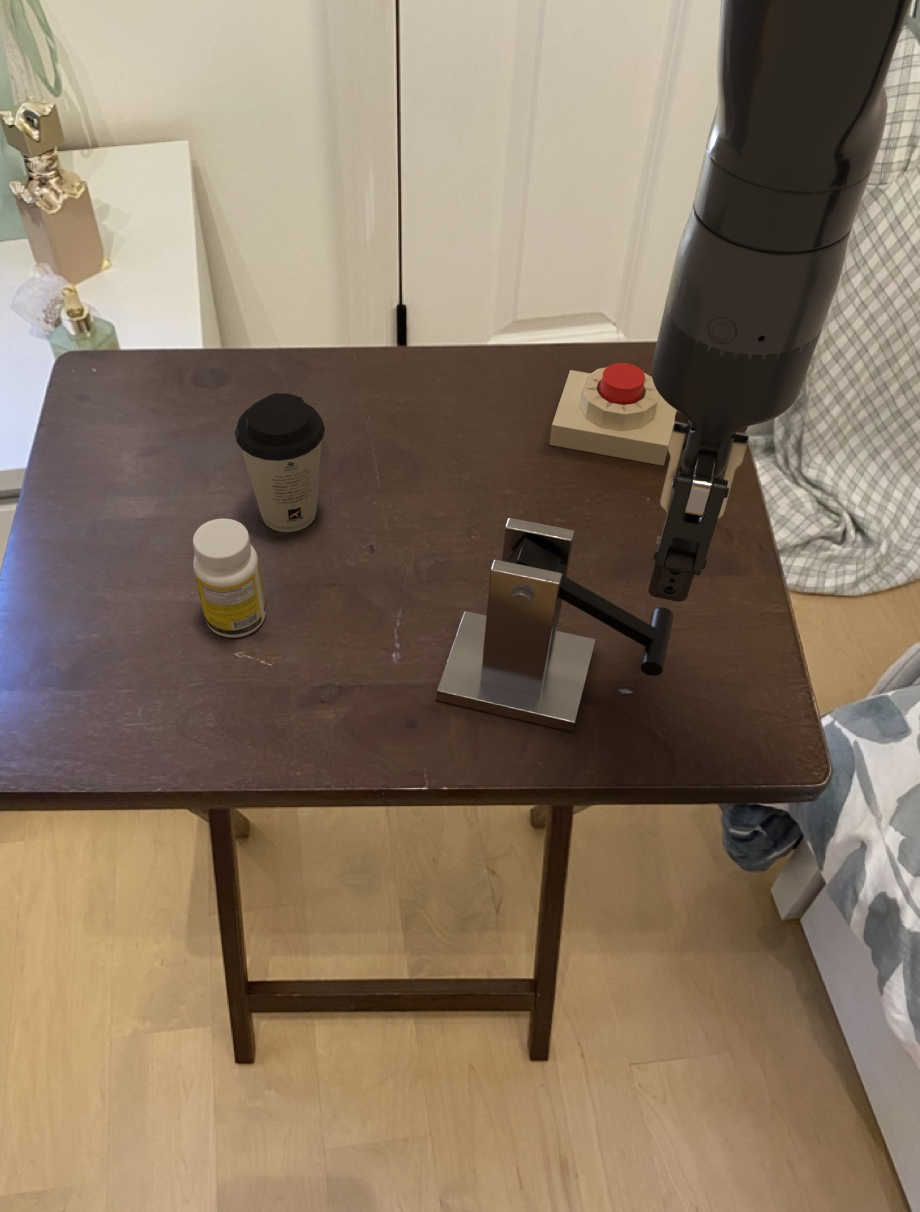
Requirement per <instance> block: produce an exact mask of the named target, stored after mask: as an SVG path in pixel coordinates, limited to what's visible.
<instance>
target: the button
mask: <svg viewBox="0 0 920 1212" xmlns="http://www.w3.org/2000/svg"><path fill="white" fill-rule="evenodd" d="M606 367H607V368H606ZM606 367H604V368H605V370H604V371H603V374H602V380H601V385H600V395H601V397H602V398H603V399H605V400H606V401H608V402H610V403H615V404H620V405H628V404H634V403H636V402H637V401H639V400H640V398H641V396H642V392H643V387H644V382H645V374H644V373H645V372H644V371H643V370H642V369H641V368H640V367H639V366H636V365H634V364H631V363H628V362H627V363H625V362H618V363H613V364H612V363H611V364H610V365H608V366H606Z"/></svg>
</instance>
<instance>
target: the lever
mask: <svg viewBox="0 0 920 1212" xmlns="http://www.w3.org/2000/svg"><path fill="white" fill-rule="evenodd" d="M560 560H561V558H560V557H558V556H556V555H555V554H553V553H551V552H549V551H548V550H546V549H544V548H542V547H541V546H539V545H537V544H535V543H534V542H532V541H530V540H528V539H527V538H525V539H524V540H523V541H522V542H521V543H520V544H519V546H518V547H517V548H516V549H515V550H514V551H513V553H512V554H511V555H510V556H509V557H508V559H507V562H510V563H515V564H520V565H525V566H529V567H534V568H539V569H544V570H549V571H554V572H557V571H558V567H559V564H560ZM558 598H560V599H562V601H563V602H565V603H567V604H569V605H570V606H573V607H574V608H576V609H577V610H579V611H581V612H583V613H585V614H586V615H589V616H590V617H592V618H594V619H595V620H597V621H599V622H600V623H603V624H604V625H606V626H608V627H610V628H611V629H613V630H615V631H616V632H619V633H620V634H622V635H624V636H626V637H627V638H629V639H631V640H633V641H634V642H636V643H637V644H639V645H641V646H643V647H644V649H643V654H642V659H641V661H640V662H641V663H640V670H641V672H642V673H643V674H644V675H647V676H651V677H657V676H660V675H661V674H662V673H663V670H664V666H665V661H666V655H667V651H668V646H669V641H670V636H671V632H672V631H671V630H672V626H673V620H674V613H673V611H672V610H671V609H670V608H667V607H656V608H655V609H653V611H652V612H651V617H650V621H649V623H648V622H646V621H644V620H642V619H641V618H639V617H637V616H636V615H634V614H632V613H631V612H629V611H627V610H625V609H624V608H621V607H620V606H618V605H616V604H614V603H613V602H611V601H609V600H607V599H605V598H604V597H602V596H600V595H598V594H597V593H595V592H593V591H591V590H590V589H588V588H587V587H584V586H583V585H582V584H579V583H578V582H576V581H574V580H572V579H571V578H569V577H565V576H564V575H562V579H561V585H560V590H559V596H558Z"/></svg>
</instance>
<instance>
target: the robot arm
mask: <svg viewBox="0 0 920 1212" xmlns="http://www.w3.org/2000/svg"><path fill="white" fill-rule="evenodd" d="M912 3H913V0H720V5H719V6H720V7H719V8H720V9H719V27H718V44H717V60H716V75H717V76H716V77H717V78H716V79H717V81H716V82H717V83H716V84H717V101H716V102H717V103H716V108H715V111H714V114H713V117H712V121H711V125H710V128H709V132H708V135H707V140H706V145H705V149H704V154H703V158H702V163H701V167H700V172H699V176H698V181H697V185H696V189H695V194H694V198H693V203H692V205H691V209H690V212H689V216H688V218H687V221H686V223H685V226H684V229H683V230H682V234H681V236H680V240H679V243H678V247H677V251H676V255H675V259H674V263H673V267H672V272H671V276H670V281H669V285H668V289H667V294H666V297H665V304H664V308H663V313H662V317H661V322H660V325H659V331H658V335H657V340H656V345H655V350H654V352H653V353H654V354H653V358H652V363H651V377H652V379H653V383H654V385H655V387H656V389H657V391H658V393H659V394H660V395H661V397H662V398H663V399H664V400H665V401H666V402H667V403H668V404H669V405H670V406H672V407H673V408H674V409H676V414H675V421H674V424H673V428H672V432H671V437H670V441H669V445H668V451H667V453H668V454H669V456H670V457H669V460H668V464H667V465H668V466H667V470H666V474H665V477H664V481H663V486H662V489H661V493H660V494H661V495H660V498H659V504H660V507H661V508H662V509H663V510H664V511H665V512H666V513H665V517H664V521H663V525H662V528H661V529H662V530H661V533H660V536H657V538H656V543H655V546H657V549H655V550H654V553H653V558H652V559H653V560H654V561H655V562H654V565H653V570H652V574H651V577H650V581H649V586H648V594H649V595H650V596H652V597H654V598H657V599H663V600H668V601H673V602H677V603H681V602H684V601H686V600H687V598H688V595H689V592H690V590H691V586H692V583H693V579H694V577H695V576H701V574H702V572H703V570H705V569H706V566H707V561H708V560H707V556H708V552H709V549H710V546H711V542H712V540H713V539H712V538H713V535H714V533H715V530H716V526H717V523H718V520H719V519H721V518H722V517H723V516H724V515H725V511H726V508H727V505H728V500H729V497H730V493H731V489H732V485H733V482H734V477H735V474H736V470H737V468H739V467H740V466H741V465H742V464H743V462H744V459H745V455H746V451H747V447H748V443H749V439H750V434H749V433H745V432H747V430H748V429H749V427H752V426H754V425H760V424H764V423H767V422H770V421H771V420H773V419H777V418H778V417H780V416H782V415H783V414H784V413H786V412H787V411H788V410H789V409H790V408H791V407H792V406H793V405H794V404H795V402H796V401H797V400H798V397H799V395H800V393H801V389H802V387H803V384H804V381H805V378H806V376H807V374H808V370H809V367H810V364H811V362H812V360H813V359H812V358H813V356H814V353H815V351H816V348H817V345H818V342H819V340H820V337H821V333H822V330H823V328H824V325H825V322H826V320H827V316H828V314H829V311H830V308H831V305H832V302H833V300H834V296H835V294H836V292H837V288H838V285H839V283H840V279H841V277H842V273H843V267H844V263H845V259H846V254H847V247H848V245H849V244H848V243H849V239H850V235H851V232H852V228H853V225H854V223H855V220H856V216H857V214H858V211H859V208H860V207H861V203H862V200H863V197H864V195H865V191H866V189H867V185H868V183H869V181H870V178H871V174H872V172H873V169H874V166H875V163H876V160H877V157H878V153H879V150H880V147H881V144H882V140H883V137H884V133H885V127H886V122H887V115H888V108H889V106H888V105H889V103H888V97H887V92H886V89H885V87H884V86H885V82H886V80H887V76H888V73H889V70H890V68H891V63H892V61H893V58H894V54H895V52H896V48H897V46H898V43H899V39H900V36H901V33H902V30H903V27H904V24H905V22H906V18H907V16H908V14H909V10H910V9H911V5H912Z"/></svg>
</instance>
